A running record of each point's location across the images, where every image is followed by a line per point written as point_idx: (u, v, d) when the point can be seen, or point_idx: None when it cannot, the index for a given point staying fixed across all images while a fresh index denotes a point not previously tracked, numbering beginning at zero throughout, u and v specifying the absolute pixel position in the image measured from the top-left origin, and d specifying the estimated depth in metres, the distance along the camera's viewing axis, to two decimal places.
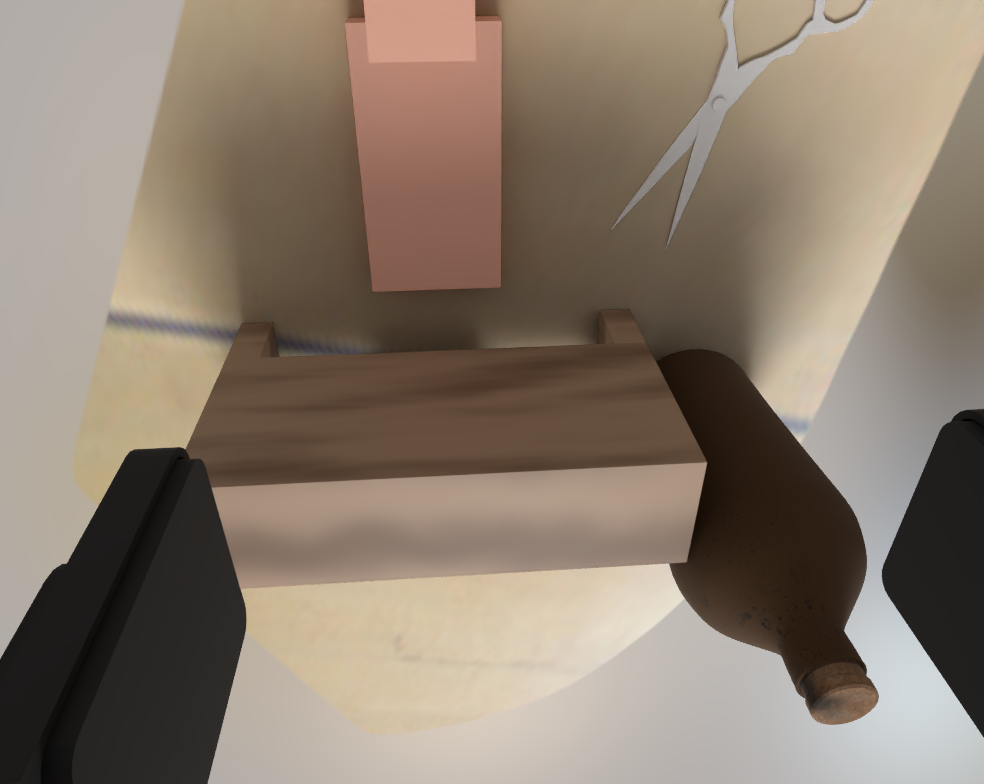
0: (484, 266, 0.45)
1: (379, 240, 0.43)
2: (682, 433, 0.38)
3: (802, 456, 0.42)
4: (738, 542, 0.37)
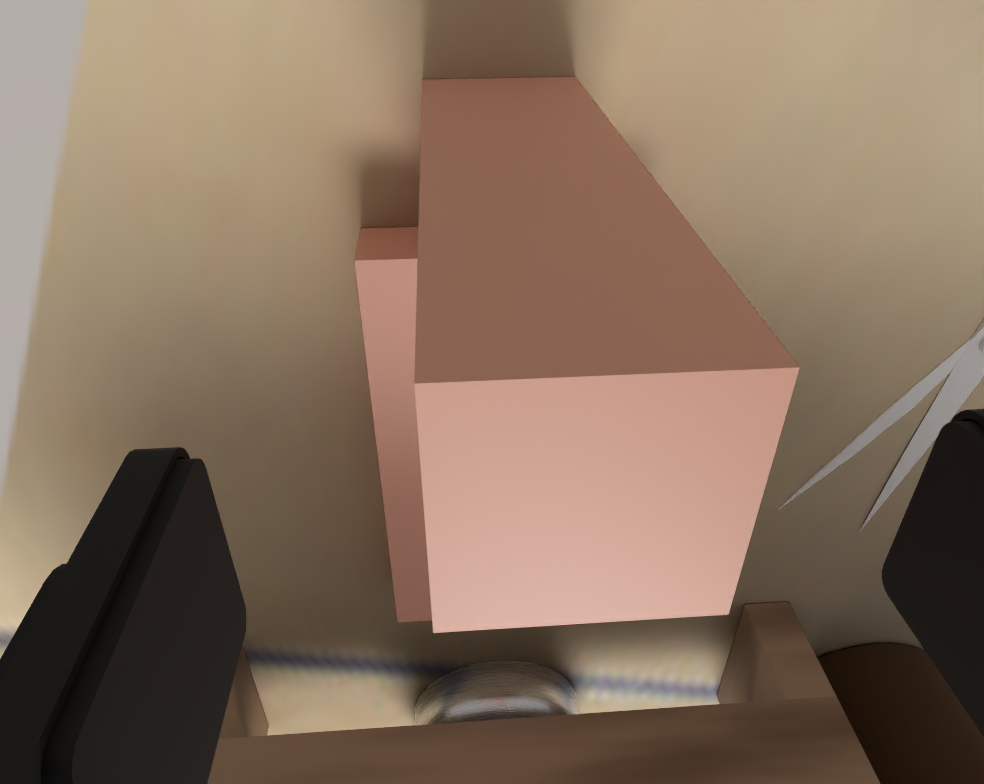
0: None
1: (411, 561, 0.26)
2: None
3: None
4: None
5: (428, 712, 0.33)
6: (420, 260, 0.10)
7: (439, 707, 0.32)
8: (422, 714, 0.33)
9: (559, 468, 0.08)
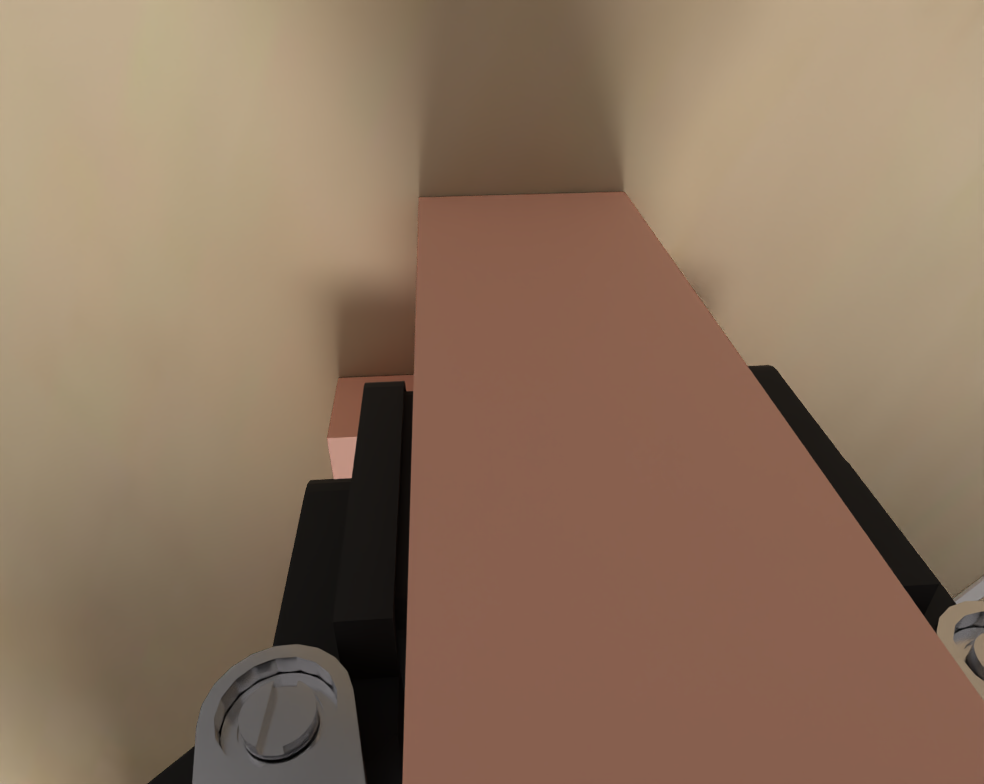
0: None
1: None
2: None
3: None
4: None
5: None
6: (409, 758, 0.05)
7: None
8: None
9: None
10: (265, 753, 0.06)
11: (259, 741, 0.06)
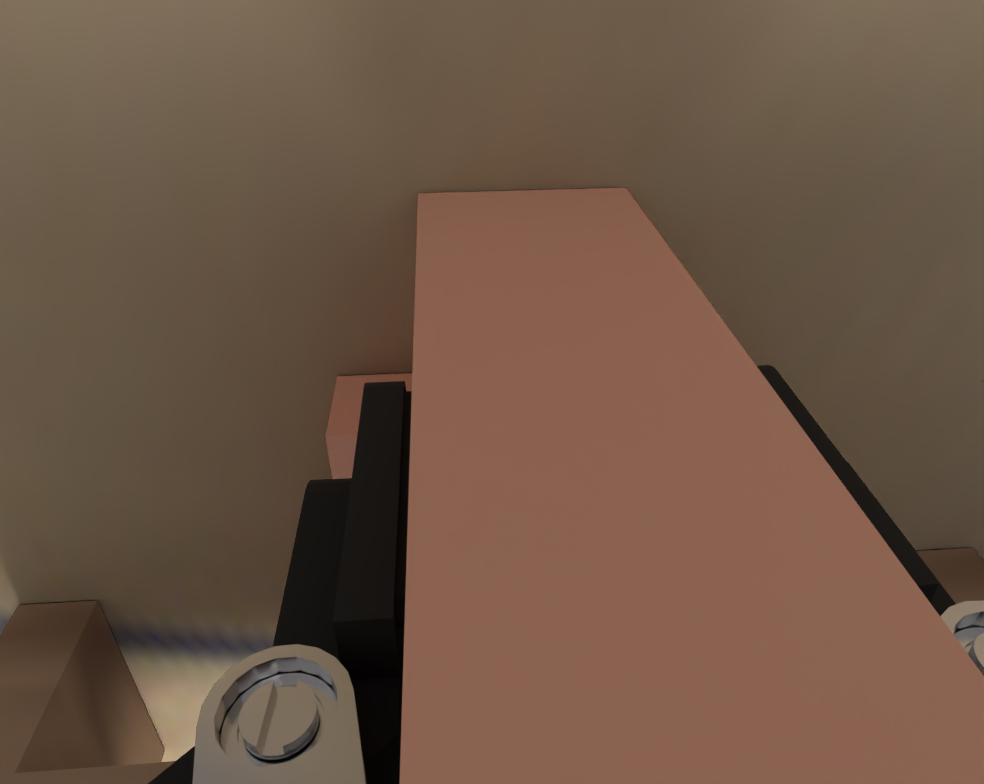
0: None
1: None
2: None
3: None
4: None
5: None
6: (406, 758, 0.05)
7: None
8: None
9: None
10: (265, 753, 0.06)
11: (259, 741, 0.06)
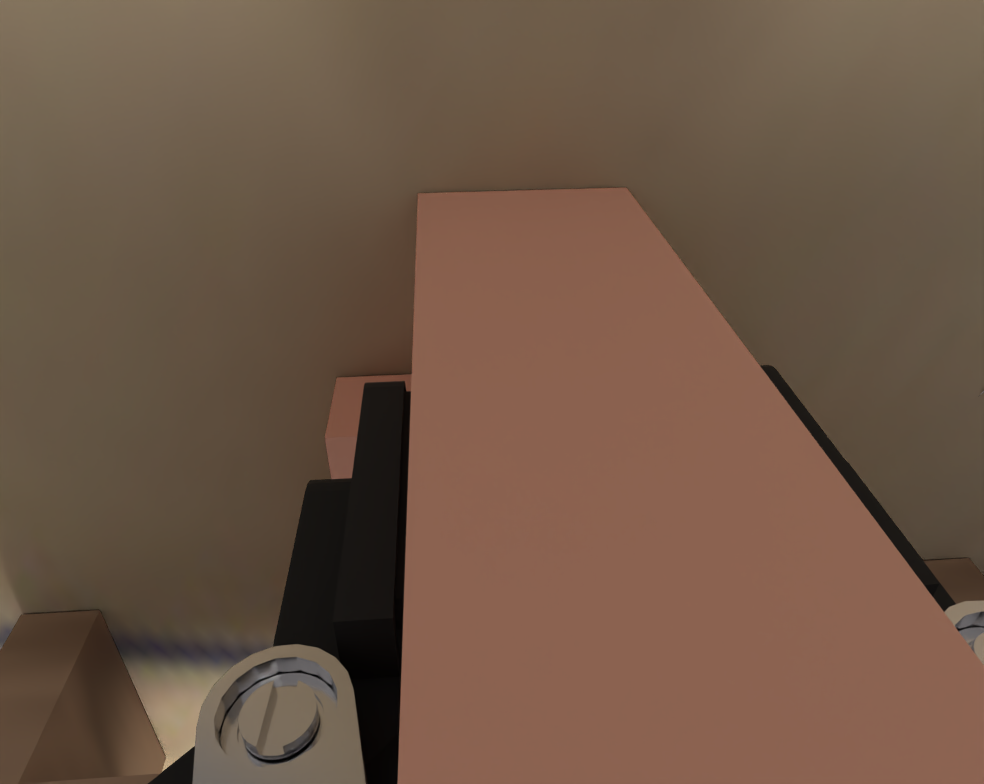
0: None
1: None
2: None
3: None
4: None
5: None
6: (404, 761, 0.04)
7: None
8: None
9: None
10: (265, 753, 0.06)
11: (259, 741, 0.06)
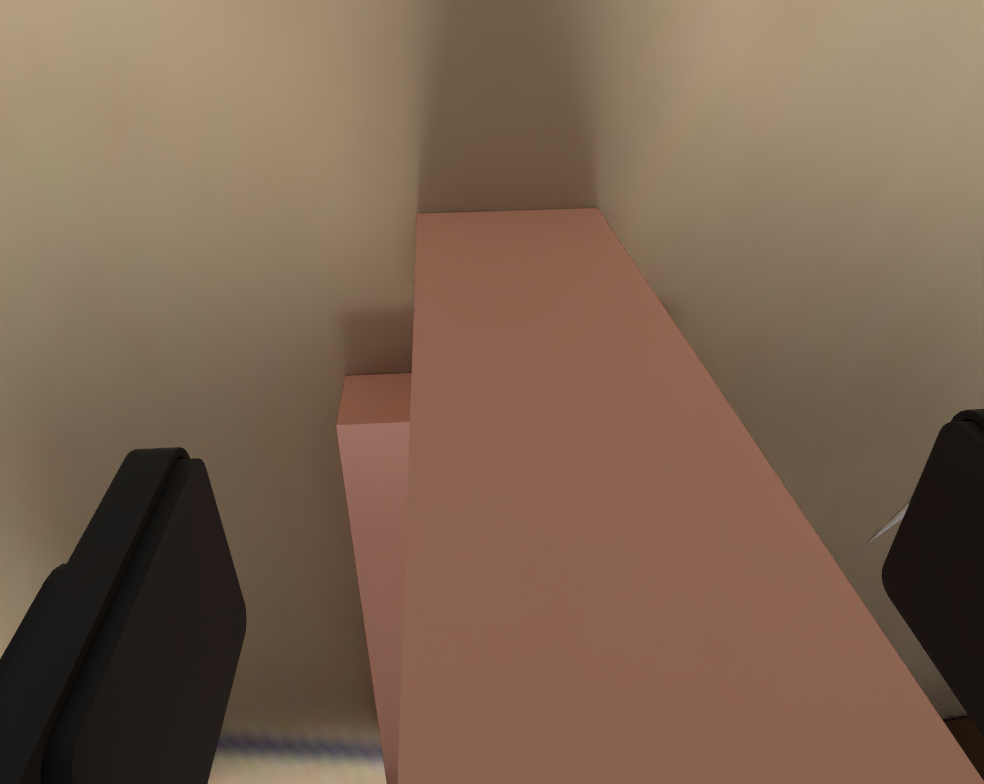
0: None
1: None
2: None
3: None
4: None
5: None
6: (408, 594, 0.06)
7: None
8: None
9: None
10: None
11: None
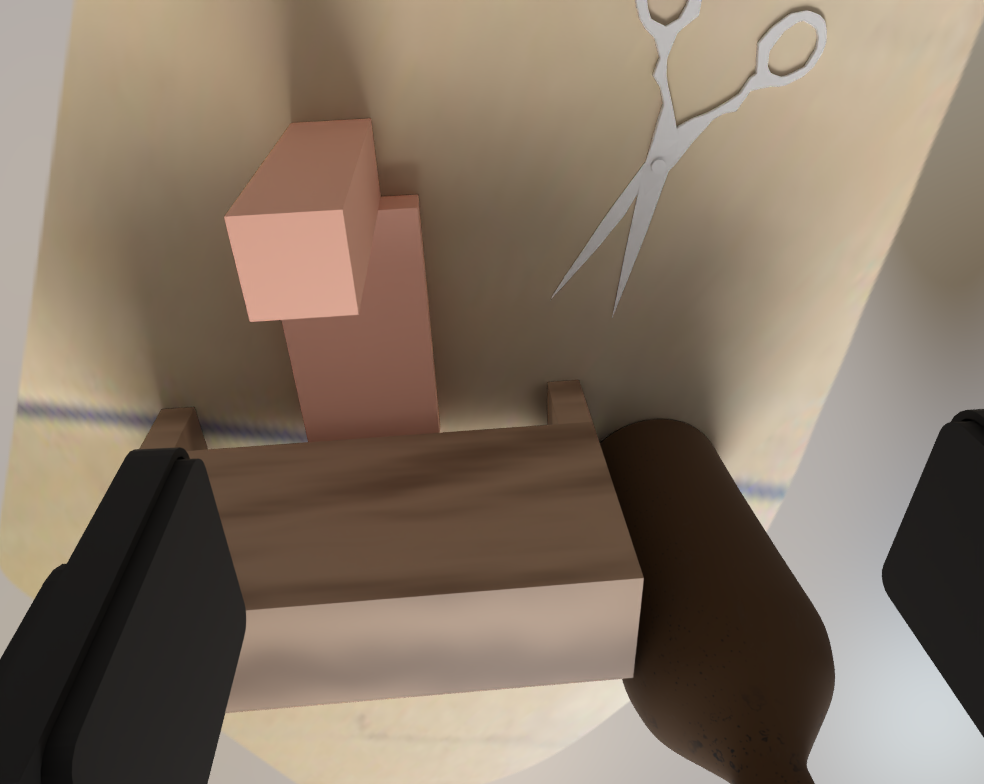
0: (422, 425, 0.44)
1: (313, 407, 0.43)
2: (620, 539, 0.34)
3: (762, 551, 0.38)
4: (685, 661, 0.33)
5: None
6: (243, 190, 0.27)
7: None
8: None
9: (277, 248, 0.25)
10: None
11: None
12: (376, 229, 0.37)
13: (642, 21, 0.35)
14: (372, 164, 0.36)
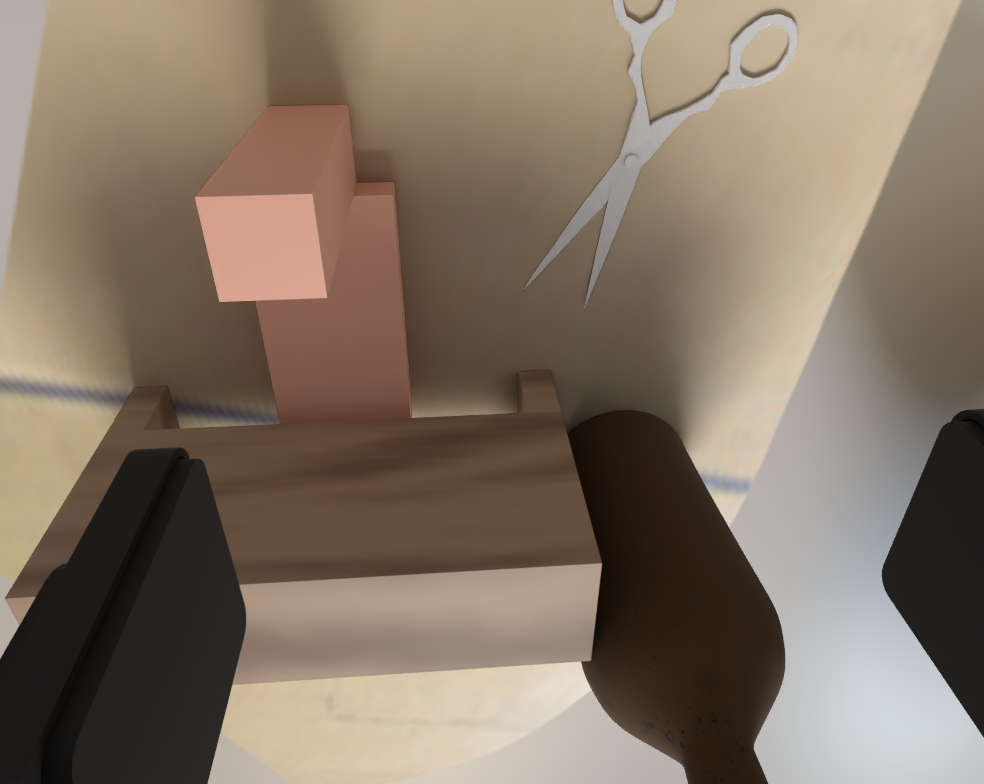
0: (393, 410, 0.45)
1: (285, 389, 0.43)
2: (581, 526, 0.35)
3: (720, 541, 0.39)
4: (640, 645, 0.34)
5: None
6: (216, 171, 0.27)
7: None
8: None
9: (247, 229, 0.26)
10: None
11: None
12: (351, 215, 0.38)
13: (618, 18, 0.35)
14: (348, 150, 0.36)
